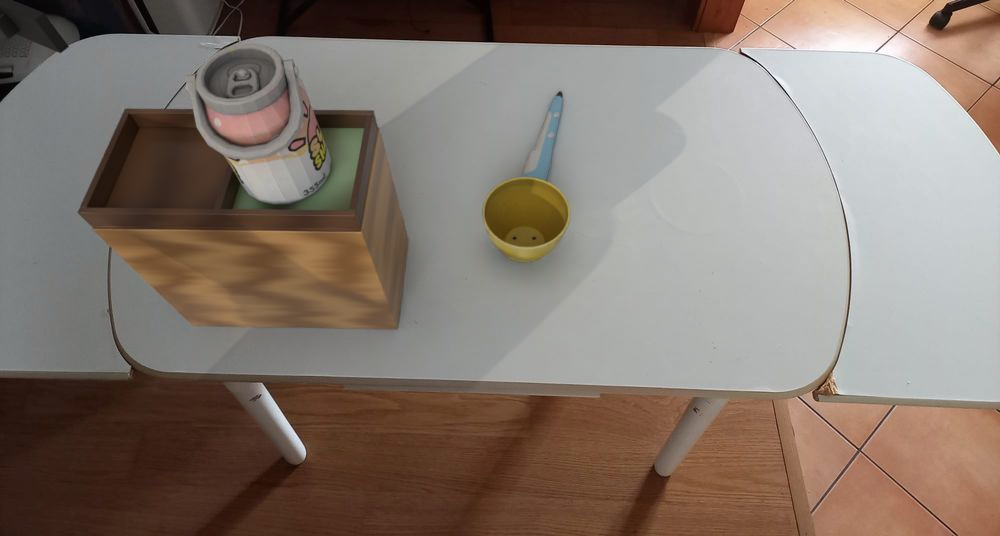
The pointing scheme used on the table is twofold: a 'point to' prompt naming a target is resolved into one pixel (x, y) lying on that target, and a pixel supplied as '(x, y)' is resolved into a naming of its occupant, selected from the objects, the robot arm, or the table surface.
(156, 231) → the stand
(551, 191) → the flower pot
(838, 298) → the table surface
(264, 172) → the beverage can
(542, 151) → the pen
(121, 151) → the tray
